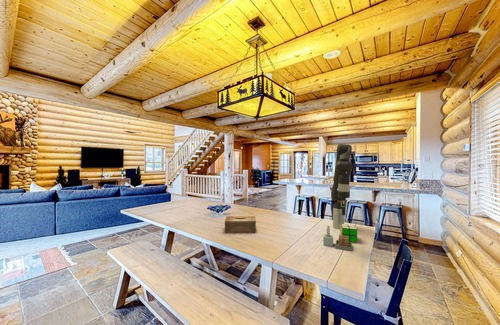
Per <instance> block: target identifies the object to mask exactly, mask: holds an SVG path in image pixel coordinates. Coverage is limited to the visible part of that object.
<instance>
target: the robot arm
mask: <svg viewBox="0 0 500 325" xmlns="http://www.w3.org/2000/svg"><path fill="white" fill-rule="evenodd" d="M352 151H353V147H352V145H351V144H346V143H338V145H337V146H336V153H335V154H336V155H335V156H336V158H335V167H334V172H333V183H332V187H331V193H330V198H331V200H332V201H338V202H336V203H334V204H333V205H332V227H333V228H334V229H337V230H340V227H341V224H345V216H346V211H347V210H346V209H347V203H348V200H347V199H349V198H351V183H350V180H351V179H350V178H351V174H352V170H353V163H352V162H351V161H350V160H351V157H352V153H353V152H352Z"/></svg>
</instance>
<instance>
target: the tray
mask: <svg viewBox="0 0 500 325" xmlns="http://www.w3.org/2000/svg"><path fill="white" fill-rule="evenodd" d="M352 243H353V242H348V247H345V246H339V239H335V246H334V247H335V248H334V249H338V250H343V251H349V252H352V251H353V246H352Z"/></svg>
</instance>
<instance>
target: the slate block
mask: <svg viewBox="0 0 500 325" xmlns="http://www.w3.org/2000/svg"><path fill="white" fill-rule="evenodd" d="M322 245H323V246H327V247H331V248H333V247H334V246H333V245H334V235H333V234H330V237H327V233H324V234H323V244H322Z"/></svg>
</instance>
